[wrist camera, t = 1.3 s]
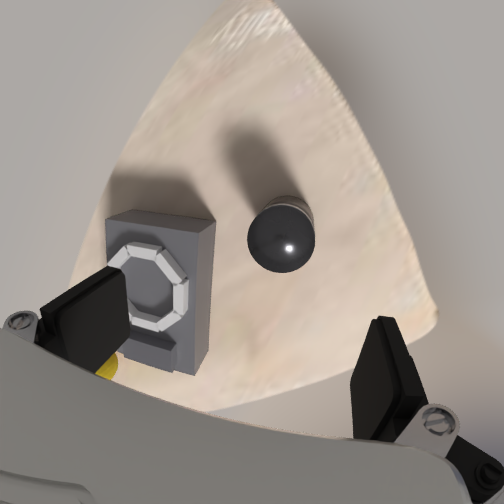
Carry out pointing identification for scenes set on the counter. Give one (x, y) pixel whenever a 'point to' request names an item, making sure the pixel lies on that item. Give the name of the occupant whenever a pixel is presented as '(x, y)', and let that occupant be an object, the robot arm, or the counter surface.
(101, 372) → the lemon
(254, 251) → the lens
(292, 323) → the counter surface
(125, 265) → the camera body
